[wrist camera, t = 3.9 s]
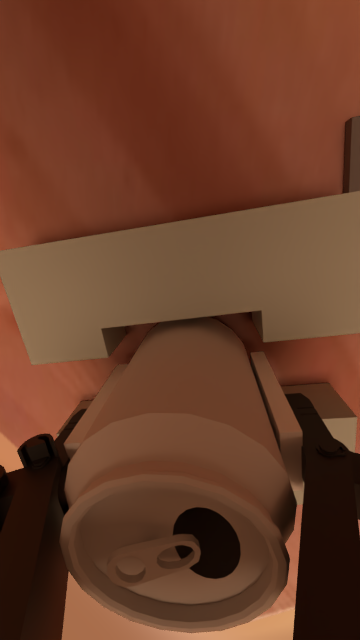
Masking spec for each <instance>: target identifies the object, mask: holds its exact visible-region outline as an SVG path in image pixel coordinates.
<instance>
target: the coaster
mask: <svg viewBox="0 0 360 640" xmlns="http://www.w3.org/2000/svg"><path fill="white" fill-rule="evenodd" d="M356 191H360V116H357V117H352V118H351V119H350V120H348V121H347V122H346V132H345V160H344V189H343V194H344V193H350V192H356Z"/></svg>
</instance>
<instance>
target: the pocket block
mask: <svg viewBox="0 0 360 640" xmlns="http://www.w3.org/2000/svg"><path fill="white" fill-rule="evenodd" d="M0 277H1V280H2V283H3V285H4V288H5V291H6V294H7V297H8V299H9V302H10V305H11V308H12V311H13V313H14V316H15V319H16V322H17V325H18V327H19V330H20V333H21V336H22V339H23V341H24V344H25V347H26V350H27V353H28V355H29V358H30V361H31V364H32V365H38V364H48V363H58V362H68V361H79V360H89V359H99V358H108V357H109V356H110V355H111V354H112V352H113V351H114V350H115V349H116V347H117V346H118V345H119V344H120V342H121V341H122V340H123V339H124V337H125V336H126V331H125V326H128V325H137V324H146V323H155V322H163V321H172V320H181V319H190V318H199V317H207V316H216V315H225V314H234V313H243V312H251V311H252V321H253V323H254V325H255V327H256V329H257V331H258V333H259V335H260V337H261V339H262V340H263V342H274V341H284V340H295V339H305V338H315V337H326V336H336V335H346V334H356V333H360V191H356V192H350V193H344V194H338V195H332V196H326V197H320V198H314V199H308V200H302V201H296V202H290V203H284V204H278V205H272V206H266V207H260V208H254V209H248V210H242V211H236V212H230V213H224V214H218V215H212V216H206V217H200V218H194V219H188V220H182V221H176V222H170V223H164V224H158V225H152V226H146V227H140V228H134V229H128V230H122V231H116V232H110V233H104V234H98V235H92V236H86V237H80V238H74V239H68V240H62V241H56V242H50V243H44V244H38V245H32V246H26V247H20V248H14V249H8V250H2V251H0ZM281 388H282V391H283V393H284V394H293V393H302V394H303V395H304V396H306V397H307V398H308V399H310V401H311V403H312V404H313V406H314V408H315V409H316V411H317V412H318V415H320V417H321V419H322V420H323V422H324V423H325V425H326V427H327V428H328V430H329V431H330V433H331V435H332V436H333V438H334V439H337V440H338V441H340V442H342V443H343V444H344V445H345V446H346V447H347V448H348V449H349V451H352V452H354V453H355V442H356V426H357V416H356V415H355V414H354V413H353V412H352V410H351V409H350V408H349V407H348V406H347V404H346V403H345V402H344V401H343V399H342V398H341V397H340V396H339V395H338V393H337V392H336V391H335V390H334V389H333V387H332V386H331V385H330V384H329V383H320V384H306V385H293V386H281ZM92 401H93V400H90V401H81V402H80V403H79V405H78V406H77V407H76V409H75V410H74V411H73V413H72V414H71V415H70V417H69V418H68V419H67V421H66V422H65V423H64V425H63V426H62V428H61V429H60V430H59V432H58V433H57V437H58V436H59V434H60V433H61V432H62V430H64V427H65V426H66V425H67V424H68V422H69V421H70V419H71V418H72V417H73V415H75V414H76V413H77V412H78V411H80V410H81V409H88V407H89V406H90V404H91V403H92ZM293 492H294V495H295V498H296V501H297V505H300V504H303V495H304V481H303V490H300V491H293Z"/></svg>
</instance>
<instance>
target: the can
mask: <svg viewBox="0 0 360 640" xmlns="http://www.w3.org/2000/svg"><path fill="white" fill-rule="evenodd" d="M64 491H65V495H66V499H67V503H68V507H69V510H68V511H67V513H66V514H65V516H64V518H63V522H62V528H61V534H60V540H59V543H60V546H61V550H62V553H63V557H64V560H65V564H66V567H67V569H68V570H69V572H70V573H71V575H72V576H73V577H74V579H75V580H76V581H77V583H78V584H79V585H80V587H81V588H82V590H84V591H85V592H86V593H87V594H88V595H90V596H91V597H92V598H93V599H95V600H96V601H97V602H98V603H100V604H101V605H102V606H103V607H105V608H107V609H109V610H111V611H113V612H114V613H116V614H118V615H120V616H122V617H124V618H126V619H128V620H130V621H133V622H137V623H140V624H143V625H147V626H150V627H154V628H157V629H161V630H169V631H178V632H187V633H198V632H211V631H222V630H225V629H229V628H232V627H235V626H238V625H241V624H245V623H248V622H250V621H251V620H253V619H254V618H256V617H257V616H259V615H260V614H262V613H263V612H265V611H266V610H268V609H269V608H271V607H272V605H273V604H274V602H275V601H276V599H277V598H278V596H279V595H280V594H281V592H282V591H283V589H284V588H285V586H286V585H287V580H288V571H289V563H290V558H289V554H288V551H287V549H286V546H285V543H286V542H287V540H288V538H289V537H290V535H291V534H292V532H293V530H294V524H295V515H296V507H297V501H296V498H295V495H294V492H293V489H292V486H291V483H290V480H289V477H288V474H287V471H286V468H285V465H284V462H283V459H282V456H281V453H280V450H279V447H278V445H277V442H276V439H275V436H274V433H273V430H272V427H271V424H270V421H269V418H268V415H267V412H266V409H265V406H264V403H263V400H262V397H261V394H260V391H259V388H258V385H257V382H256V379H255V376H254V374H253V371H252V368H251V365H250V362H249V359H248V356H247V353H246V350H245V347H244V344H243V343H242V341H241V340H240V339H239V338H238V336H237V335H236V334H235V332H234V331H233V330H232V329H230V328H229V327H227V326H226V325H224V324H223V323H221V322H220V321H218V320H216V319H213V318H209V317H199V318H190V319H181V320H172V321H163V322H161V323H159V324H158V325H157V326H155V327H154V328H153V329H151V330H150V331H149V332H148V333H147V335H146V337H145V338H144V340H143V341H142V343H141V344H140V346H139V347H138V349H137V351H136V352H135V354H134V356H133V357H132V359H131V361H130V362H129V364H128V366H127V367H126V369H125V371H124V372H123V374H122V376H121V377H120V379H119V381H118V382H117V384H116V386H115V387H114V389H113V391H112V392H111V394H110V396H109V397H108V399H107V401H106V402H105V404H104V406H103V407H102V409H101V411H100V412H99V414H98V416H97V417H96V419H95V421H94V422H93V424H92V426H91V427H90V429H89V431H88V432H87V434H86V436H85V437H84V439H83V441H82V442H81V444H80V446H79V447H78V449H77V451H76V452H75V454H74V456H73V457H72V459H71V461H70V462H69V464H68V470H67V476H66V482H65V488H64Z"/></svg>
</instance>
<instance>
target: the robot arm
mask: <svg viewBox="0 0 360 640" xmlns="http://www.w3.org/2000/svg"><path fill="white" fill-rule="evenodd" d="M250 356H251V368H252V371H253V374H254V376H255V379H256V382H257V385H258V388H259V391H260V394H261V397H262V400H263V403H264V406H265V409H266V412H267V415H268V418H269V421H270V424H271V427H272V430H273V433H274V436H275V439H276V442H277V445H278V447H279V450H280V453H281V456H282V459H283V462H284V465H285V468H286V471H287V474H288V477H289V480H290V483H291V486H292V489H293V491H300V490H303V481H304V495H303V509H302V523H301V536H300V550H299V564H298V577H297V591H296V605H295V619H294V633H293V640H360V535H359V526H358V519H359V520H360V454H358V453H354V452H352V451H349V449H348V448H347V447H346V446H345V445H344V444H343V443H342V442H340V441H338V440H337V439H334V438H333V436H332V435H331V433H330V431H329V430H328V428H327V427H326V425H325V423H324V422H323V420H322V419H321V417H320V415H318V412H317V411H316V409H315V408H314V406H313V404H312V403H311V401H310V399H308V398H307V397H306V396H304V395H303V394H302V393H293V394H284V393H283V391H282V388H281V386H280V384H279V382H278V380H277V378H276V376H275V374H274V372H273V370H272V368H271V366H270V364H269V362H268V360H267V358H266V356H265V353H264V351H260V352H250ZM127 366H128V364H120V365H117V366H116V367H115V369H114V370H113V372H112V373H111V375H110V376H109V378H108V379H107V381H106V382H105V384H104V385H103V387H102V388H101V389H100V391H99V392H98V394H97V395H96V397H95V398H94V400H93V401H92V403H91V404H90V406H89V407H88V409H81V410H80V411H78V412H77V413H76V414H75V415H73V417H72V418H71V419H70V421H69V422H68V424H67V425H66V426H65V427H64V430H62V432H61V433H60V434H59V436H58V437H57V438H56V440H55V441H54V439H53V437H52V436H51V435H50V434H40V435H37V436H34V437H32V438H30V439H29V440H27V441H25V442H24V443H23V444H22V445H21V446H20V447H19V449H18V450H17V452H18V454H19V457H20V459H21V462H22V464H23V466H24V468H22V469H18V470H15V471H12V472H9V473H6V471H5V469H4V467H2V466H1V465H0V640H61V639H62V629H63V620H64V610H65V599H66V591H67V581H68V571H69V570H68V569H67V567H66V564H65V560H64V557H63V553H62V550H61V546H60V543H59V540H60V534H61V528H62V522H63V518H64V516H65V514H66V513H67V511H68V510H69V507H68V503H67V499H66V495H65V491H64V488H65V482H66V476H67V470H68V464H69V462H70V461H71V459H72V457H73V456H74V454H75V452H76V451H77V449H78V447H79V446H80V444H81V442H82V441H83V439H84V437H85V436H86V434H87V432H88V431H89V429H90V427H91V426H92V424H93V422H94V421H95V419H96V417H97V416H98V414H99V412H100V411H101V409H102V407H103V406H104V404H105V402H106V401H107V399H108V397H109V396H110V394H111V392H112V391H113V389H114V387H115V386H116V384H117V382H118V381H119V379H120V377H121V376H122V374H123V372H124V371H125V369H126V367H127Z"/></svg>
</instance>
